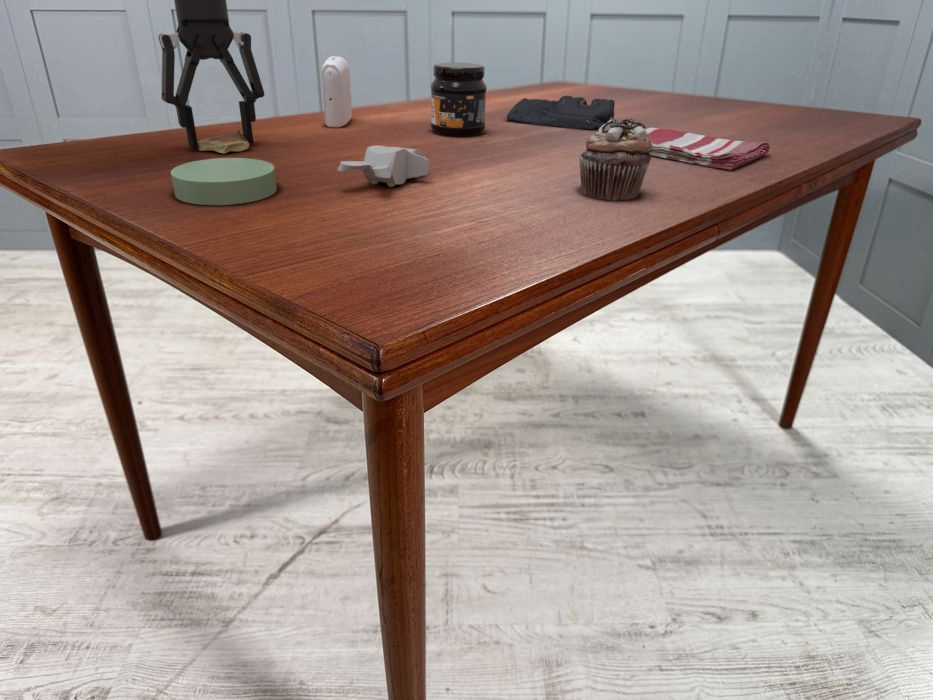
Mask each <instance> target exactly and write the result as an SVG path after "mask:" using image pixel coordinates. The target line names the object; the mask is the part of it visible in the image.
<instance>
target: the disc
mask: <svg viewBox="0 0 933 700" xmlns="http://www.w3.org/2000/svg"><path fill="white" fill-rule="evenodd" d="M170 177H171V183H172V188H173V191H174V192H173V193H174V197H175V198H176V199H177V200H179V201H181V202H183V203H186V204H190V205H191V204H192V205H197V206H235V205H242V204H248V203H252V202H257V201H261V200H264V199H267V198H269V197H271V196H273V195H274V194H275V193H276V192H277V190H278V187H277V186H278V185H277V179H276V169H275V166H274V164H272V163H270V162H269V161H265V160H262V159H256V158H248V157H219V158H208V159H207V158H206V159H200V160H194V161H190V162H189V161H188V162H186V163H185V162H184V163H183V164H179V165H176V166H174V168H172V169H171V170H170Z"/></svg>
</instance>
